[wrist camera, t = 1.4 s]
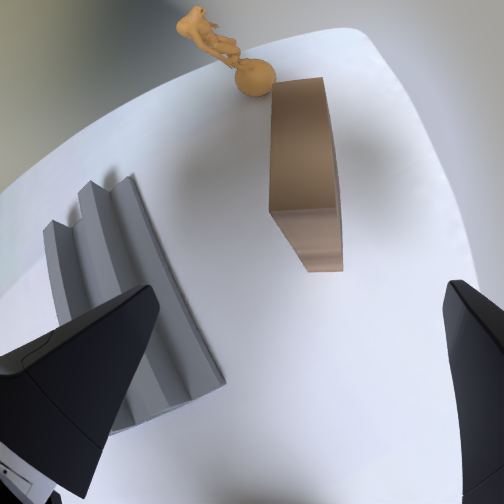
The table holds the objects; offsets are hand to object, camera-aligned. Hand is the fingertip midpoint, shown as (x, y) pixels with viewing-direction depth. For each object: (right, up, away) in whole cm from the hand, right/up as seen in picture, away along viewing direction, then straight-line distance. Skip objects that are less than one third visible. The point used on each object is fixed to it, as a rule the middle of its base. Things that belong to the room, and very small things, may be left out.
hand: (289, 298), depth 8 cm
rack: (-14, -4, +18) cm, 23 cm away
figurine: (-1, +17, +20) cm, 26 cm away
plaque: (+4, +3, +14) cm, 15 cm away
